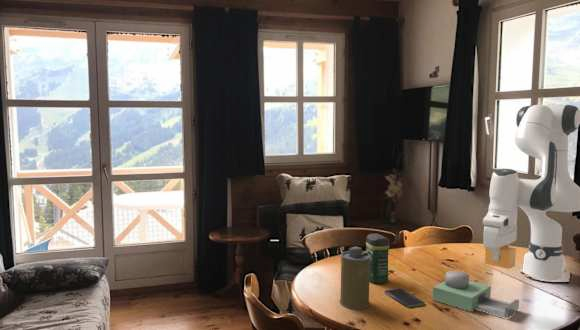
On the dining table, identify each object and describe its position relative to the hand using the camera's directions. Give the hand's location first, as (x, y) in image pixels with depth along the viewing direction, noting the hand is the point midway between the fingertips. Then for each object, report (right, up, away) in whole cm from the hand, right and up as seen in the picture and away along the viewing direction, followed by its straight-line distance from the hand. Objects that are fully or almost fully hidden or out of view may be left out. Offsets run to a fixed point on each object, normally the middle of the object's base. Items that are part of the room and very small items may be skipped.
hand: (500, 258), depth 155 cm
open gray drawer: (-1, -18, +2) cm, 18 cm away
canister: (-48, -17, +7) cm, 52 cm away
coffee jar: (-36, -15, +30) cm, 49 cm away
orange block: (0, -2, 0) cm, 2 cm away
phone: (-30, -18, +11) cm, 36 cm away
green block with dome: (-9, -17, +10) cm, 22 cm away
